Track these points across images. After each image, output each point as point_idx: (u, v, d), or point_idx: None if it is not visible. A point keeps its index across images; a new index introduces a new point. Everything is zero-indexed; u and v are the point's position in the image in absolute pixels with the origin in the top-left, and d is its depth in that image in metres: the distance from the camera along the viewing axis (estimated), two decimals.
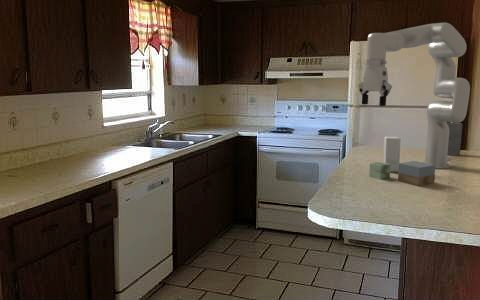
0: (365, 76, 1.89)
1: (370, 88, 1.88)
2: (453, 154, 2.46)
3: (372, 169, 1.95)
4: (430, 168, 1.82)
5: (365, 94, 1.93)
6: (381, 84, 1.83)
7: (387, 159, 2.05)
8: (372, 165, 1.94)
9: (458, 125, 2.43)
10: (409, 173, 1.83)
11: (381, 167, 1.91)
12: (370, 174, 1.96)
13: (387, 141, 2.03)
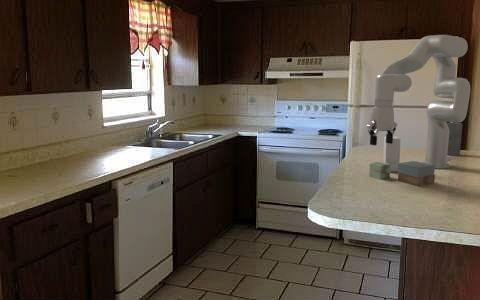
0: (382, 117, 1.87)
1: (385, 128, 1.90)
2: (453, 154, 2.46)
3: (372, 169, 1.95)
4: (430, 168, 1.82)
5: None
6: None
7: (387, 159, 2.05)
8: (372, 165, 1.94)
9: (458, 125, 2.43)
10: (408, 173, 1.83)
11: (381, 167, 1.91)
12: (370, 174, 1.96)
13: None
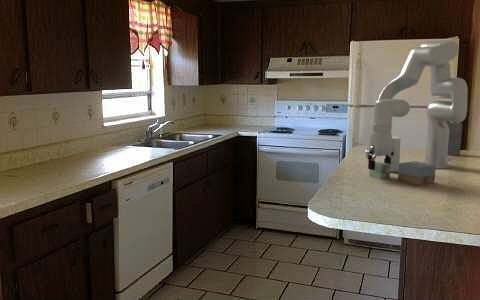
0: (380, 142, 1.89)
1: (384, 153, 1.92)
2: (453, 154, 2.46)
3: None
4: (430, 168, 1.82)
5: None
6: None
7: None
8: None
9: (458, 125, 2.43)
10: (409, 173, 1.83)
11: (381, 167, 1.91)
12: (370, 174, 1.96)
13: None
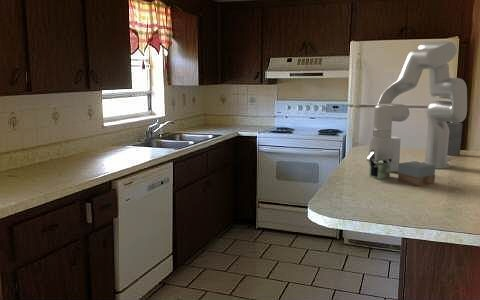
0: (380, 147, 1.90)
1: (384, 158, 1.92)
2: (453, 154, 2.46)
3: None
4: (430, 168, 1.82)
5: None
6: None
7: None
8: None
9: (458, 125, 2.43)
10: (409, 173, 1.83)
11: (381, 167, 1.91)
12: (370, 174, 1.96)
13: None
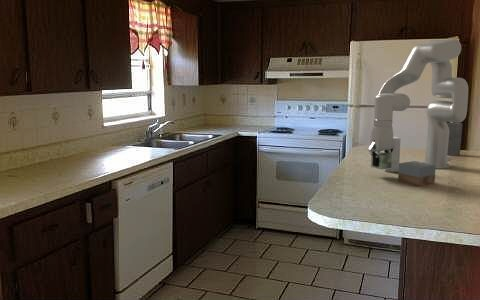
0: (381, 137, 1.89)
1: (385, 147, 1.92)
2: (453, 154, 2.46)
3: None
4: (430, 168, 1.82)
5: None
6: None
7: None
8: None
9: (458, 125, 2.43)
10: (409, 173, 1.83)
11: (382, 157, 1.90)
12: None
13: None
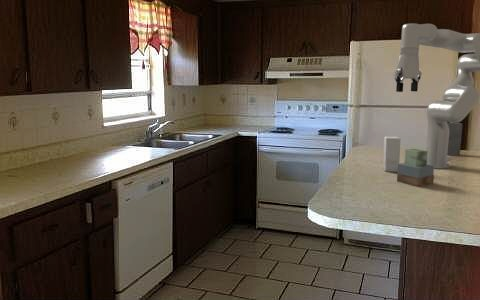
0: (408, 64, 1.97)
1: (411, 75, 1.99)
2: (453, 154, 2.46)
3: (408, 156, 1.84)
4: (429, 168, 1.82)
5: None
6: None
7: (387, 159, 2.05)
8: (407, 151, 1.84)
9: (458, 125, 2.43)
10: (408, 174, 1.82)
11: (417, 153, 1.80)
12: (405, 161, 1.86)
13: (387, 141, 2.03)
